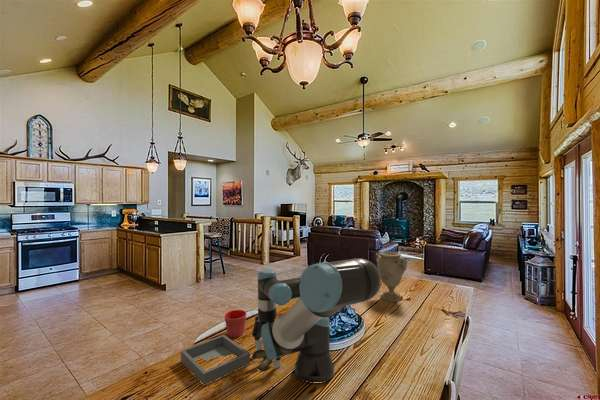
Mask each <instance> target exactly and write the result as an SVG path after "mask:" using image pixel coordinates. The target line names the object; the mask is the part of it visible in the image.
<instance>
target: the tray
mask: <svg viewBox="0 0 600 400" xmlns="http://www.w3.org/2000/svg"><path fill="white" fill-rule="evenodd" d="M231 354H234V355H236V356H237V357H236V358H234V359H231V360H229V361H227V362H225V363H223V364H220V365H218V366H216V367H214V368H211V369H209V370H207V371H205V370H204V369H203V368H202V367H201V366H200V365H199V364H198V363H197V362H196V361H195V359H197V358H198V357H199V358H202V357H203V359H205V360H206V361H208V360H210V359H213V358H216V357H221V356H227V355H231ZM211 357H213V358H211ZM180 362H181V363H182V364H183V365H184V364H185V365H184V367H185V368H186V367H187V368H188V369H189V370H191V372H192V373H194V375H195V376H196V377H197V378H198V379H199V380H200V381H201V382H202V383H203V384H204V385H205V384H207V383H209V382H211V381H214V380H216V379H218V378H220V377H222V376H224V375H226V374H228V373H231V372H233V371H234V370H237V369H239V368H241V367H243V366H245V365H247V364H249V363H250V364H251V353H250V352H249V351H248V350H246V349H245V348H244V347H242V346H241V345H239V344H238V343H237V342H235V341H233V339H231V338H229V337H228V336H227V335H225V334H222V335H219V336H217V337H214V338H211V339H209V340H205V341H203V342H201V343H197V344H195V345H191V346H190V347H187V348H184V349H181V350H180ZM250 364H249V365H250ZM247 366H248V365H247ZM245 367H246V366H245ZM187 368H186V369H187ZM243 368H244V367H243ZM188 369H187V370H188ZM241 369H242V368H241ZM189 370H188V371H189ZM239 370H240V369H239ZM237 371H238V370H237ZM191 372H190V373H191ZM192 373H191V374H192ZM233 373H234V372H233ZM231 374H232V373H231ZM194 375H193V376H194ZM195 376H194V377H195ZM196 377H195V378H196ZM197 378H196V379H197ZM216 381H217V380H216ZM214 382H215V381H214Z"/></svg>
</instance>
